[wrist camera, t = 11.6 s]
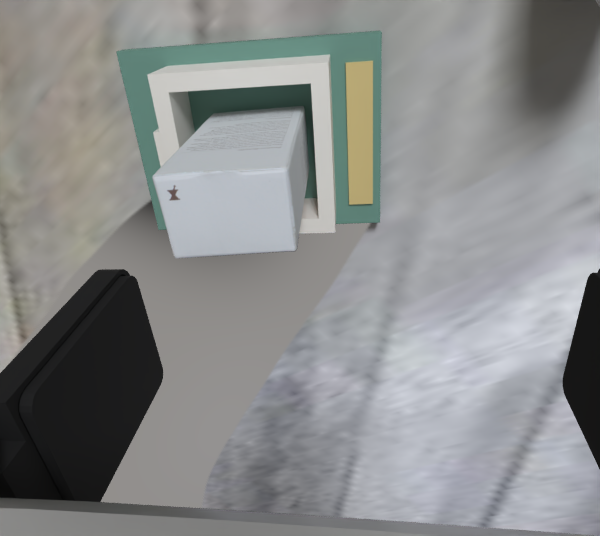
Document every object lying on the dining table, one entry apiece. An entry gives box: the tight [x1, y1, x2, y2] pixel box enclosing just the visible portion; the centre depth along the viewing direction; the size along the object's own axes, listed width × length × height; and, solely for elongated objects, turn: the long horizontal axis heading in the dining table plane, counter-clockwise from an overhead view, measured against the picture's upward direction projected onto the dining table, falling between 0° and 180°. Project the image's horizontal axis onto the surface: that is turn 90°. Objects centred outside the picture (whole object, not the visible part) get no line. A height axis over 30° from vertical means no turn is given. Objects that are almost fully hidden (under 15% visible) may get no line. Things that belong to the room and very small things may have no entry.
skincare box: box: [152, 106, 309, 258], centre depth 27 cm, size 6×4×12 cm
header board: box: [117, 31, 382, 234], centre depth 31 cm, size 16×12×4 cm
